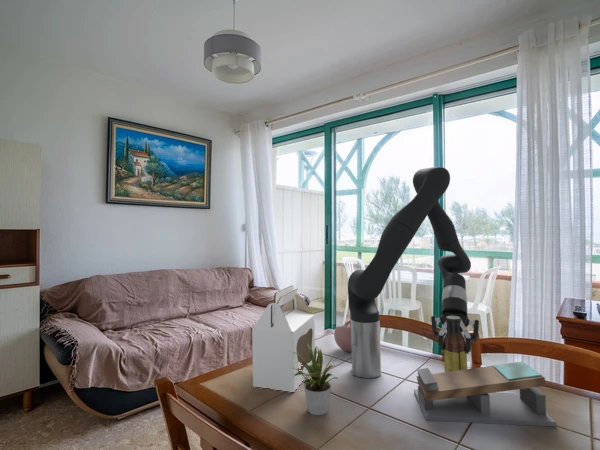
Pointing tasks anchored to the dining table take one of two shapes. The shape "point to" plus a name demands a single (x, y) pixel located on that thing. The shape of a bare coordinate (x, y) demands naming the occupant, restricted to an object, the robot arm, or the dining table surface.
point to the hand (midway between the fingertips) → (454, 350)
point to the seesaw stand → (489, 408)
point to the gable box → (283, 342)
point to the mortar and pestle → (343, 337)
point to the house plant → (316, 384)
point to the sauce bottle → (454, 346)
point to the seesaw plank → (478, 380)
